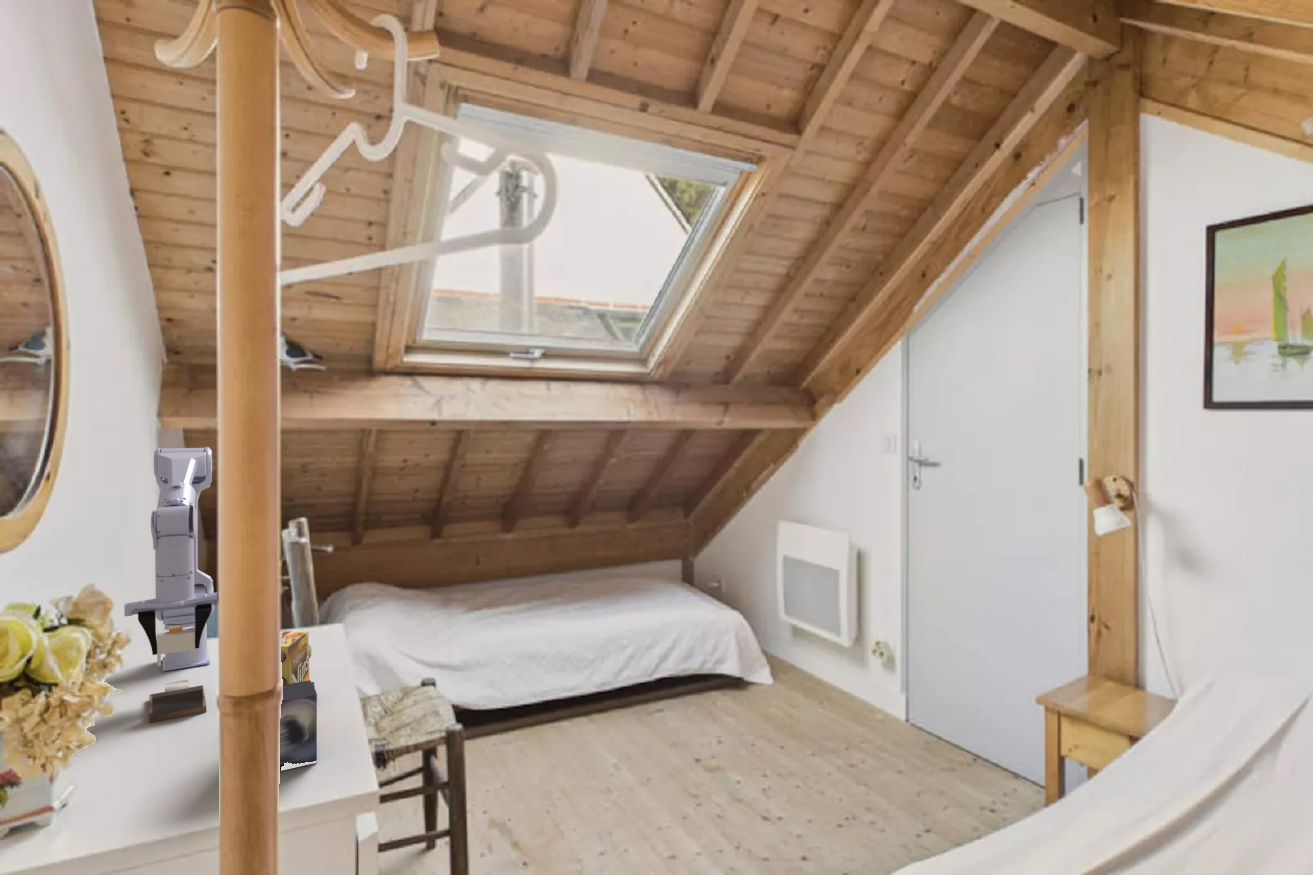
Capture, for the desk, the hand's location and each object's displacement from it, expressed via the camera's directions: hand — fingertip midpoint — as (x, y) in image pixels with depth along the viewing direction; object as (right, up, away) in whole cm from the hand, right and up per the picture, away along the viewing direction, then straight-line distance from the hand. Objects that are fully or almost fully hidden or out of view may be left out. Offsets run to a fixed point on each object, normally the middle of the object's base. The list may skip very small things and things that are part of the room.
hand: (176, 650), depth 128 cm
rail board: (+2, -9, -3) cm, 10 cm away
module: (0, -2, 0) cm, 2 cm away
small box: (+30, -9, -25) cm, 40 cm away
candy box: (+27, -9, -15) cm, 32 cm away
